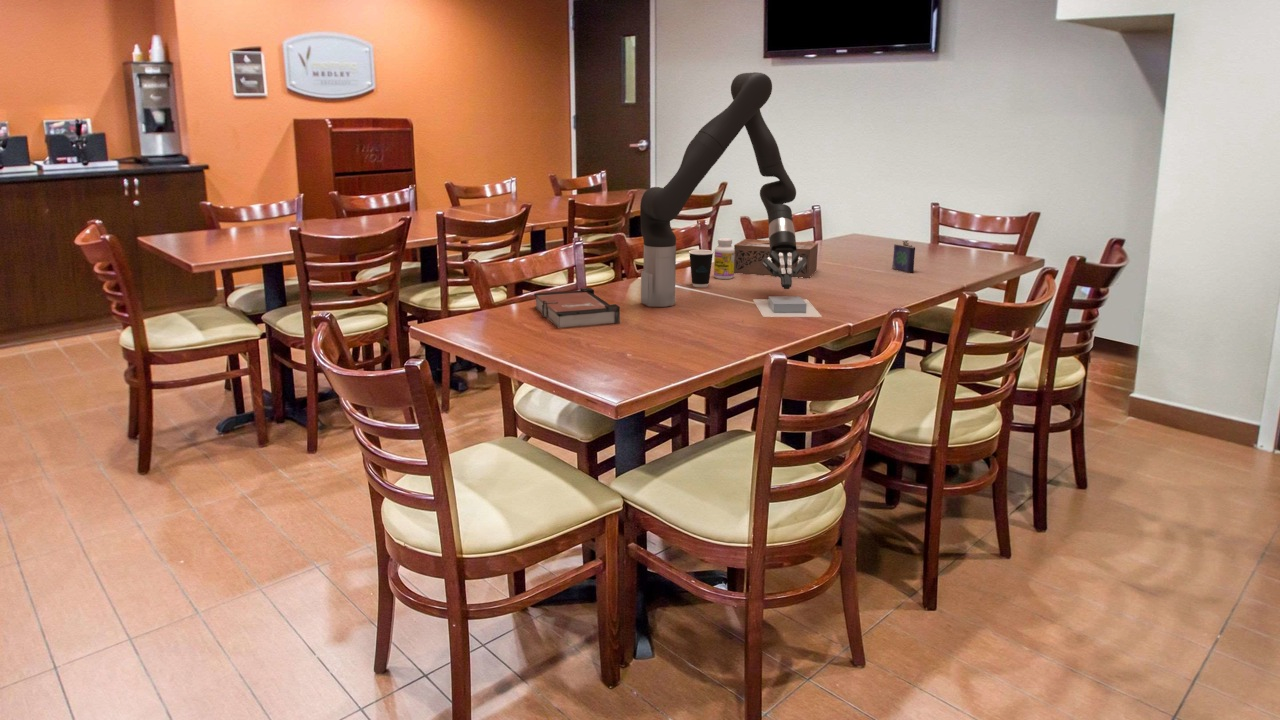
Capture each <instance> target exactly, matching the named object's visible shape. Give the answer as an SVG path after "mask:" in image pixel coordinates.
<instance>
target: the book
mask: <svg viewBox="0 0 1280 720" xmlns="http://www.w3.org/2000/svg"><path fill="white" fill-rule="evenodd" d="M533 296H534V297H535V305H536V306H534V308H535V309H536V310H537V311H538V312H539V313H540V314H541V315H542V317H543V319H544V318H545V319H547V320H548V321H549V322H551V324H552V325H554V326H555V327H556V328H557V329H559V330H560V329H561V330H562V329H572V328H574V329H575V328H583V327H584V328H585V327H594V326H605V325H606V326H607V325H618V324H621V322H620V321H621V315H620V314H621V313H620V312H621V308H620V306H619V305H618V304H610V303H608V302H607V301H605V300H604V299H602V298H600V297H599V296H597V295H596V294H595V289H593V288H591V287H584V288H580V289H578V290H566V291H550V292H539V293H538V292H536V293H534V294H533Z"/></svg>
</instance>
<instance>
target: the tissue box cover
mask: <svg viewBox="0 0 1280 720" xmlns="http://www.w3.org/2000/svg"><path fill="white" fill-rule="evenodd" d="M733 248H734V249H735V257H734V274H736V273H743V274H742V275H750V274H757V275H756V276H764V275H771V276H770V277H774V276H773V275H772V274H771V273H770V272H769V271H768V270H767V269H766V268H765V267H764V266H763V260H764V258H768V257H769V255H770V243H769V239H767V240H765V239H753V238H752V239H750V238H749V239H747V238H744V239H743V240H741V241H739V242H737V243H734V246H733ZM796 248H797V252H798V253H799V257H801V258H806V259H807V261H806V264H805V266H804V267H803V269H802V270H801V271H800V272H799V273H798V275H797V276H796V277H803V278H802V279H807V278H809V277H810V276H811V275H812V274H813V273H814V272H815V271H816V272H817V267H818V266H817V265H818V253H819V252H818V250H819V242H806V241H805V242H803V241H796ZM772 263H773V262H772ZM797 263H798V261H796V263H795V264H794V265H793V266H792V270H794V269H795V267H796V266H797V265H798V264H797ZM773 264H774V263H773ZM774 265H775V264H774ZM775 266H776V265H775ZM776 267H777V266H776ZM777 268H778V267H777ZM785 271H786V268H785ZM816 272H815V273H816ZM815 273H814V274H815ZM785 274H786V273H785ZM814 274H813V275H814ZM813 275H812V276H813ZM812 276H811V277H812ZM811 277H810V278H811ZM810 278H809V279H810Z"/></svg>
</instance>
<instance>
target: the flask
mask: <svg viewBox="0 0 1280 720" xmlns="http://www.w3.org/2000/svg"><path fill="white" fill-rule="evenodd" d="M902 243H903V244H902ZM902 243H894V245H893V256H892V266H891V269H892V270H894V271H897V270H898V272H903V273H907V274H914V269H915V268H914V267H915V255H916V246H913V244H910V243H909V240H902Z"/></svg>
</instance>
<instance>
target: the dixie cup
mask: <svg viewBox="0 0 1280 720" xmlns="http://www.w3.org/2000/svg"><path fill="white" fill-rule="evenodd" d="M688 253H689V263H690V264H689V265H690V274H691V283H692V287H694V288H707V287H709V284H710V277H711V272H712V261H713V254H715V251H714V250H709V249H692V250H689V251H688Z"/></svg>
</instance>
